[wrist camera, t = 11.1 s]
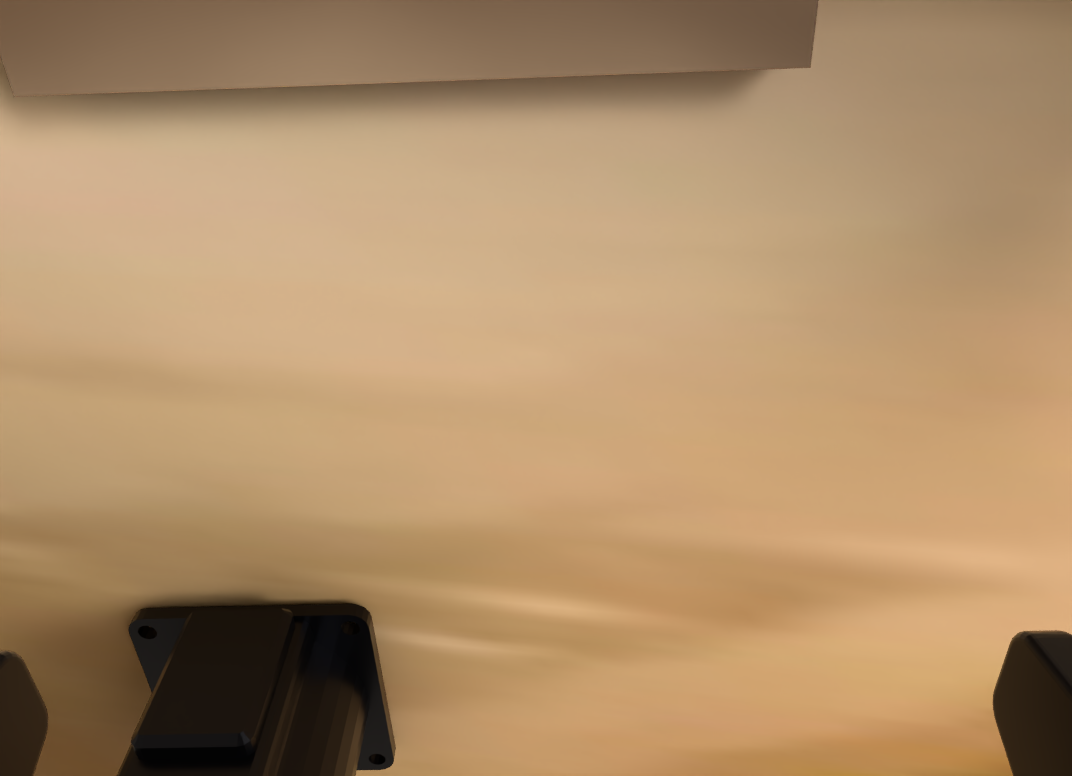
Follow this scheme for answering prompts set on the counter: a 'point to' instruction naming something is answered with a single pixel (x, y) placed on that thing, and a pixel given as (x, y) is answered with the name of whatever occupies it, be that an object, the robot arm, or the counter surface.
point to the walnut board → (384, 41)
